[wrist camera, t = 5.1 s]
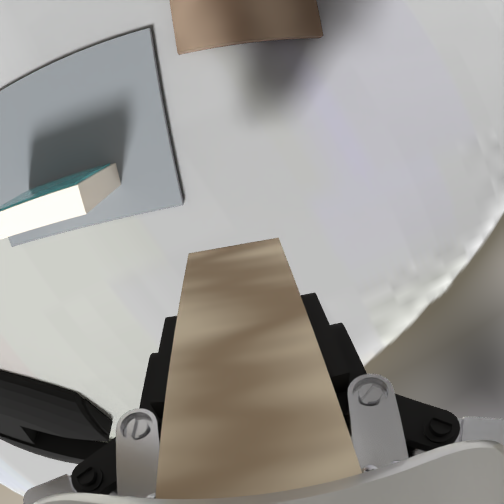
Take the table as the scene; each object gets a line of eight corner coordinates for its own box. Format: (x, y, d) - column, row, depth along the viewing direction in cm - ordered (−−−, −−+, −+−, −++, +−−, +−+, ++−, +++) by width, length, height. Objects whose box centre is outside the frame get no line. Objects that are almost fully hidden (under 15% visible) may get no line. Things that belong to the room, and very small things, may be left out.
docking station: (-67, 348, 34) (-79, 363, 29) (99, 385, 38) (90, 412, 33) (-15, 426, 44) (-22, 441, 40) (136, 464, 48) (134, 485, 44)
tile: (115, 161, 25) (77, 182, 17) (121, 184, 26) (86, 214, 18) (28, 189, 24) (-20, 217, 17) (34, 210, 25) (-11, 243, 18)
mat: (151, 30, 21) (149, 27, 20) (183, 202, 28) (182, 205, 27) (-20, 105, 20) (-25, 106, 20) (15, 243, 27) (11, 246, 27)
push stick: (278, 237, 14) (367, 490, 4) (286, 309, 16) (346, 527, 6) (188, 253, 14) (154, 515, 4) (208, 322, 16) (208, 546, 6)
